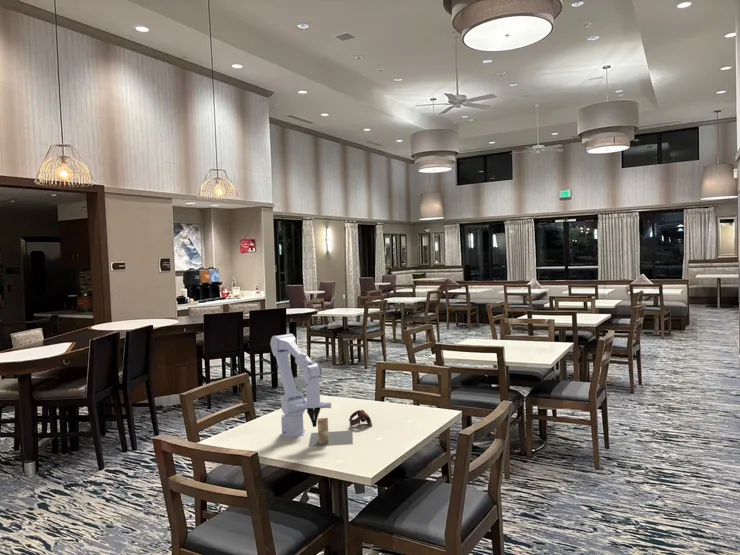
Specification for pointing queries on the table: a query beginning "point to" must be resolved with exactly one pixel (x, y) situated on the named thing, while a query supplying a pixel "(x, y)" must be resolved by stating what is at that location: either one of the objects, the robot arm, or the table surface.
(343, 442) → the charcoal mat
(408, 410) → the table surface
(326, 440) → the maple block
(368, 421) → the brown curved piece
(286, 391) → the robot arm
